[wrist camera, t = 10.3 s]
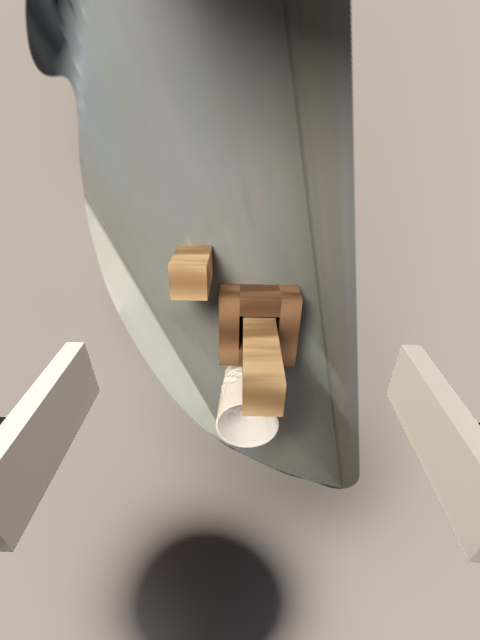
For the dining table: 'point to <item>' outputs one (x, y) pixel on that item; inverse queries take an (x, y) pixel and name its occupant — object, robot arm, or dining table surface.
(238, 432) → the white cup
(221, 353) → the walnut hole block
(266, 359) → the long oak peg
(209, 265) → the short oak peg
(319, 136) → the dining table surface
